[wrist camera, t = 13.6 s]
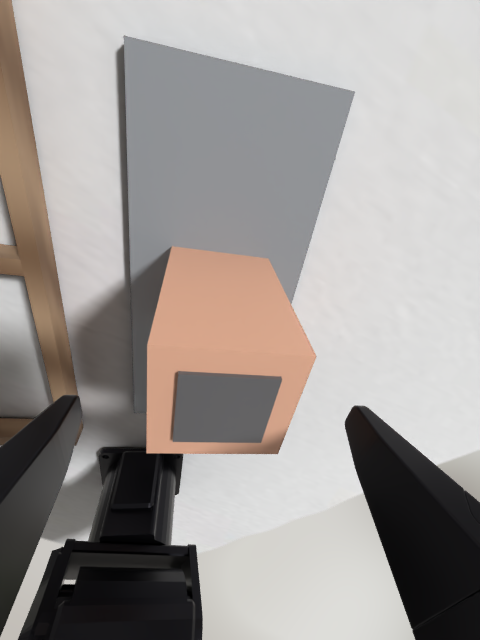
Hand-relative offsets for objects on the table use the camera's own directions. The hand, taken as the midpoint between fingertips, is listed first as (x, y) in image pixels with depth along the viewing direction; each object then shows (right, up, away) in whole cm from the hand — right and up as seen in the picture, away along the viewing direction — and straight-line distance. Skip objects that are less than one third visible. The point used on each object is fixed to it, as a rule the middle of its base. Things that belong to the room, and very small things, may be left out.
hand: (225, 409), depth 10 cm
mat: (-1, +5, +7) cm, 9 cm away
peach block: (-1, +4, +7) cm, 8 cm away
